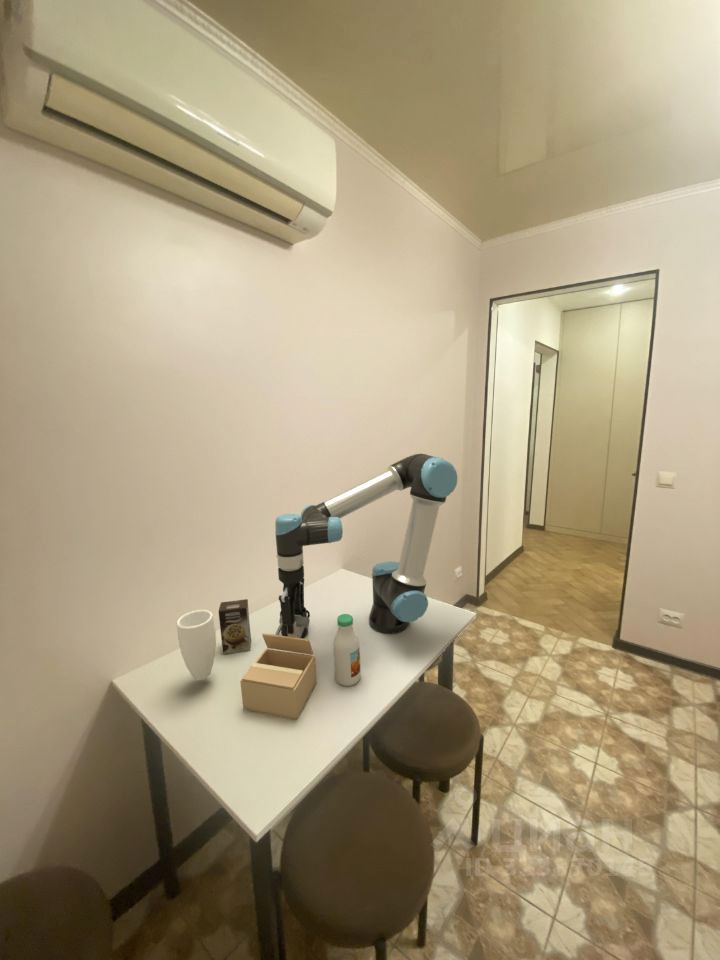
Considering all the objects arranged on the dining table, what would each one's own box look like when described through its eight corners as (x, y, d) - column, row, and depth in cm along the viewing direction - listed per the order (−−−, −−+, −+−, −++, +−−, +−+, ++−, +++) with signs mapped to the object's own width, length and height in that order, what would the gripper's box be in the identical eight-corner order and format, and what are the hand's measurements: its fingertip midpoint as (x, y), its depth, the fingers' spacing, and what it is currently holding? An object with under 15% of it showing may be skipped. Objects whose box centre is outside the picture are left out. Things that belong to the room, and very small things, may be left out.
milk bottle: (343, 690, 111) (339, 628, 107) (330, 675, 118) (327, 615, 114) (365, 679, 115) (363, 619, 111) (352, 665, 122) (349, 607, 118)
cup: (185, 676, 119) (176, 613, 115) (220, 667, 123) (213, 605, 119) (183, 700, 110) (173, 632, 105) (222, 689, 113) (214, 623, 109)
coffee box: (222, 655, 129) (217, 611, 126) (225, 643, 135) (220, 601, 132) (250, 651, 131) (246, 607, 127) (251, 639, 137) (247, 598, 134)
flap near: (313, 654, 113) (321, 630, 120) (308, 640, 110) (317, 616, 116) (267, 648, 117) (278, 625, 124) (261, 634, 113) (273, 611, 120)
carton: (316, 682, 115) (314, 653, 113) (297, 720, 101) (294, 687, 100) (268, 674, 119) (265, 646, 117) (243, 709, 106) (239, 678, 104)
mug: (318, 630, 141) (317, 607, 140) (292, 645, 133) (290, 621, 131) (302, 620, 148) (300, 599, 146) (276, 635, 139) (274, 612, 137)
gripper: (290, 555, 123) (294, 622, 127) (266, 576, 108) (271, 652, 112) (312, 556, 121) (316, 625, 126) (290, 579, 106) (295, 655, 110)
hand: (295, 637), depth 119 cm, fingers closed on flap near, 3 cm apart
